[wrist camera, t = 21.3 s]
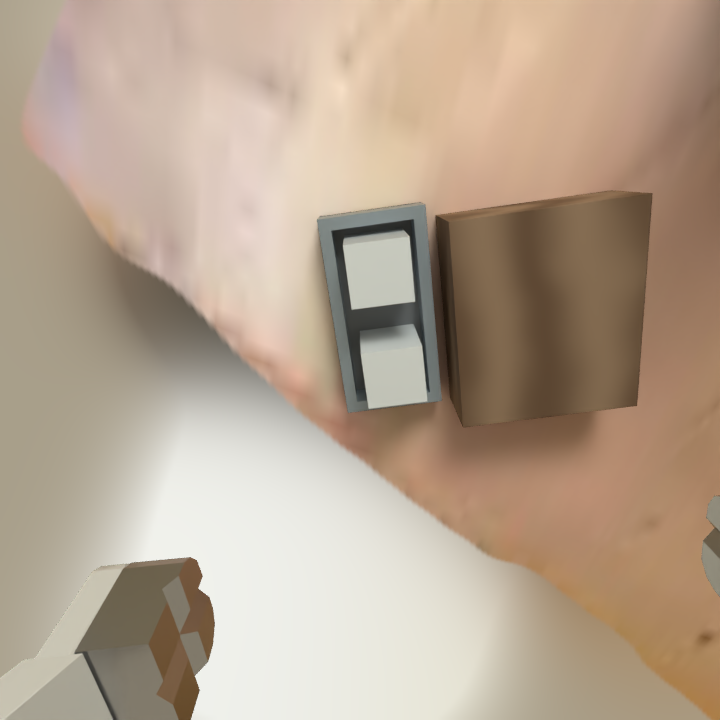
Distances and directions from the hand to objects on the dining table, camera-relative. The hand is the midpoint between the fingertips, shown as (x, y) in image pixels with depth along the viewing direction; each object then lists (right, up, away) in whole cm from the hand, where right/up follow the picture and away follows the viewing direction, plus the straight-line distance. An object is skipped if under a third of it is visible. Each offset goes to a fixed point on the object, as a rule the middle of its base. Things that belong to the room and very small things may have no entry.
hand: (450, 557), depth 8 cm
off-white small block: (+1, +4, +29) cm, 30 cm away
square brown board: (+11, +7, +28) cm, 31 cm away
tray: (0, +7, +28) cm, 29 cm away
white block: (0, +10, +27) cm, 29 cm away
